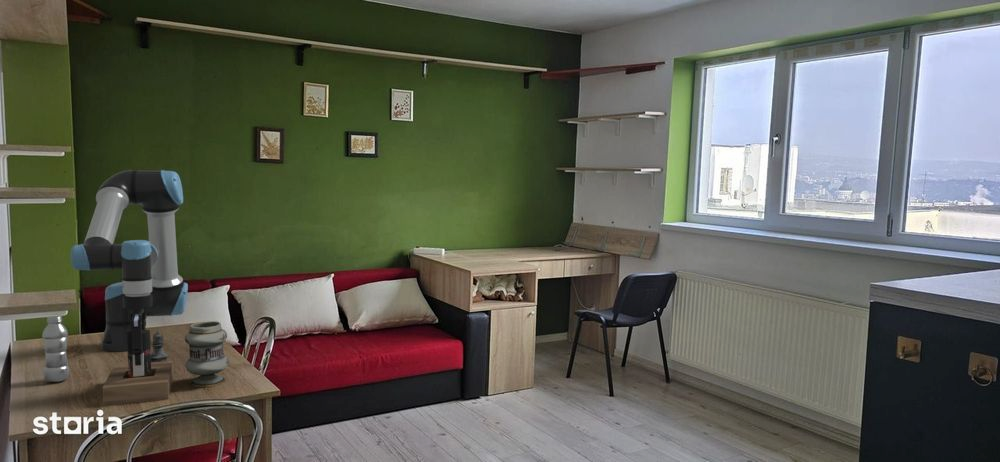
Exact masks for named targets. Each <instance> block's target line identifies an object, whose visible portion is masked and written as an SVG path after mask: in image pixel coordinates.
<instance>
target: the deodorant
mask: <svg viewBox="0 0 1000 462" xmlns="http://www.w3.org/2000/svg"><path fill="white" fill-rule="evenodd" d="M127 346H128V351H127V364H128V376H129V378H137V377H148V376H151V355H152V354H151V353H152V351H151V349H152V348H151V346H152V344H151V331H150V329H146V330H143V353H144V376H134V377H133V355H130V352H131V351H132V335H131V331H129V332H127Z"/></svg>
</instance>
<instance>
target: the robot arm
mask: <svg viewBox="0 0 1000 462" xmlns="http://www.w3.org/2000/svg"><path fill="white" fill-rule="evenodd" d="M182 185H183V184H182V181H181V178H180V175H179V174H178V173H177V172H176V171H173V170H164V169H157V170H155V169H150V170H149V169H148V170H146V169H145V170H144V169H141V170H140V169H139V170H138V169H127V170H122V171H120V172H117V173H115V174H113V175H111V176H110V177H109V178H107V179H106V180H105V181H104V182H103V183H102V184H101V185H100V187H99V188H98V190H97V192H96V194H95V195H96V196H95V202H96V206H95V208H94V212H93V215H92V218H91V221H90V224H89V227H88V230H87V233H86V236H85V239H84V242H83V243H80V244H75V245H73V246H72V247H71V250H70V264H71V267H72V268H73V269H74V270H76V271H88V272H89V271H101V270H103V271H105V270H121V271H122V272H121V273H122V276H121V277H122V281H121V282H120V281H119V282H116V283H113V284H110V285H108V286H107V287H106V288H105V290H104V292H105V293H104V294H105V296H104V303H105V307H104V308H105V330H104V332H103V336H102V338H101V342H100V349H101V350H103V351H106V352H107V351H108V352H128V346H127V332H129V331H131V335H132V351H131V352H130V355H133V377H134V376H144V353H143V330H147V329H146V326H147V318H148V317H168V316H169V317H172V316H177V315H178V316H179V315H182V314H184V312H185V310H186V304H187V300H188V299H187V298H188V290H189V288H188V287H189V285H188V283H187V282H184V279H183V277H182V276H181V275H180V274H179V269H178V251H177V250H178V248H177V236H176V235H177V234H176V220H175V219H176V218H175V213H176V212H177V211H178V210H179V209H180V207H179V206H180V205H183V203H184V193H183V192H184V191H183V190H184V189H183V186H182ZM129 205H141V211H143V212H144V213H145V214H146V217H147V228H148V229H147V230H148V231H147V232H148V240H145V239H135V240H134V239H133V240H132V239H131V240H124V241H123V242H122V243H118V244H115V243H114V242H115V239H116V236H117V232H118V228H119V225H120V222H121V219H122V214H123V212H124V209H126V208H127V207H128V206H129Z"/></svg>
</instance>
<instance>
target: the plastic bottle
mask: <svg viewBox="0 0 1000 462" xmlns="http://www.w3.org/2000/svg"><path fill="white" fill-rule="evenodd" d="M46 324H47V325H46V326H45V328H44V329H43V331H42V335H41V337H42V339H43V345H44V353H45V354H44V355H45V359H44V368H43V372H42V373H43V374H42V375H43V378H44V381H46V382H48V383H59V382H63V381H66V380H67V379H68V378H69V377H70V372H71V371H70V366H69V364H68V363H69V362H68V357H67V356H68V355H67V349H68V345H67V344H68V340H69V339H68V336H69V331H68V329H67V327H66V326H65V325H64V324H63V315H62V316H57V317H47V316H46Z"/></svg>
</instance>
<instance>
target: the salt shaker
mask: <svg viewBox="0 0 1000 462" xmlns="http://www.w3.org/2000/svg"><path fill="white" fill-rule="evenodd" d="M163 338H164V336H163V334H162V333H160V331H159V330H156V332H155V333H154V334H153V335H152V344H151V346H152V352H151V353H152V354H151V363H152V362H164V361H168V357H169V353H165V352H164V351H165V350H164V345H165V343H164V339H163Z"/></svg>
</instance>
